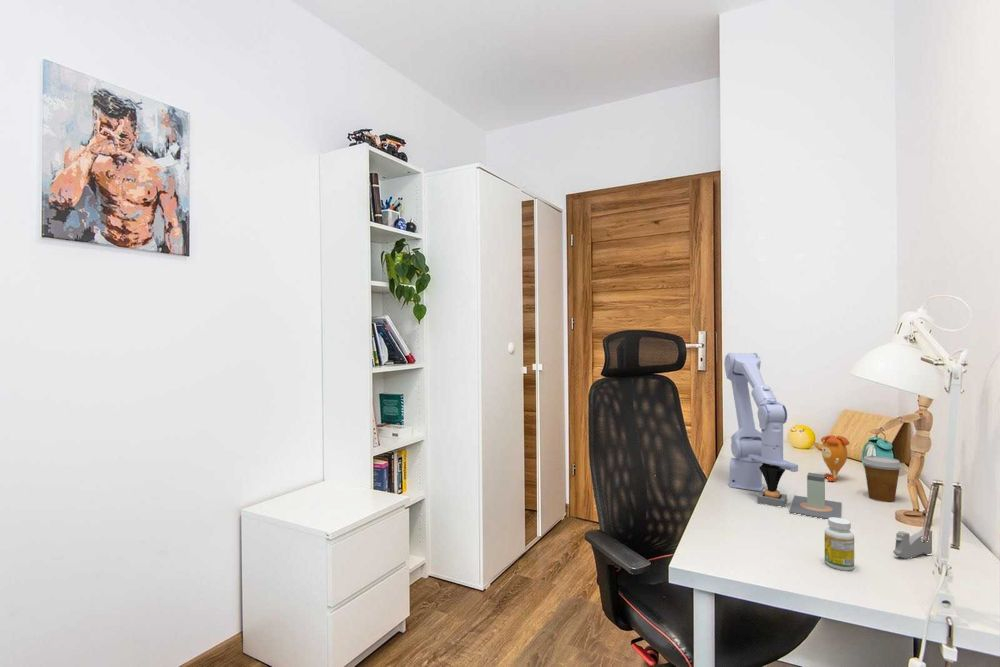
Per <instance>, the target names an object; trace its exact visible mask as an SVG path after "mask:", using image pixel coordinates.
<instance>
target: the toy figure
mask: <svg viewBox="0 0 1000 667" xmlns="http://www.w3.org/2000/svg"><path fill="white" fill-rule="evenodd" d="M820 442H821V443H822V446H821V457H822V461H824V463H825V465H826V467H827V468H828V470H829V471H830V472H829V473H824V474H823V475H825V477H828V478H826V481H827V480H828V481H827V482H829V481H836V480H837V481H838V478H837V475H838V473H839V472H840V470H842V468H843V467H844V466H845V464H846V463H847V458H848V449H847V446H849V445H850V441H849V440H848V439H847V438H846V437H844V436H841V435H836V436H835V435H832V434H831V435H825V436H822V437H821V439H820ZM837 481H836V482H837Z"/></svg>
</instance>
